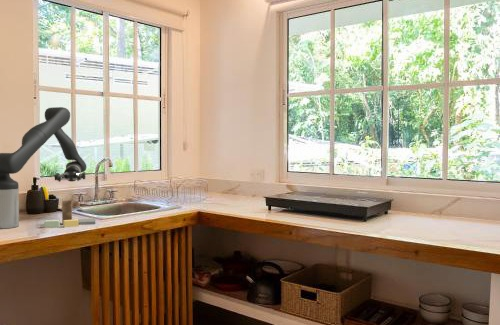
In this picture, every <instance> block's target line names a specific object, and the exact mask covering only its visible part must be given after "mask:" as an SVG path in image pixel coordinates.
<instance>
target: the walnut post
mask: <svg viewBox="0 0 500 325" xmlns="http://www.w3.org/2000/svg"><path fill="white" fill-rule="evenodd" d="M61 206H62V209H61V214H62V215H61V220H62V222H61V223H62V224H61V225H62V226H63V220H73V199H63V200H61Z"/></svg>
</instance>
